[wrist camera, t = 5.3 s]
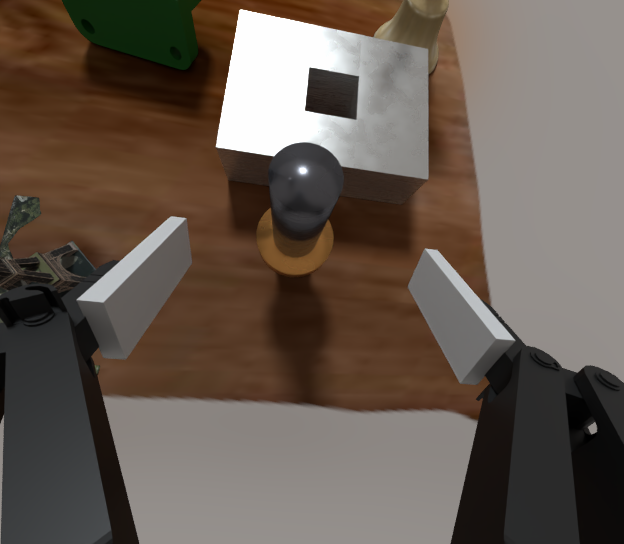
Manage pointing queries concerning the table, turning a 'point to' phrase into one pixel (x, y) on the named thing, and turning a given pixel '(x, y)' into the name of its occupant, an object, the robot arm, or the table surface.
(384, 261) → the table surface
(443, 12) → the hand bell
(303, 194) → the pin
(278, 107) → the hole block
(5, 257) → the eiffel tower figurine
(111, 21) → the clamp
